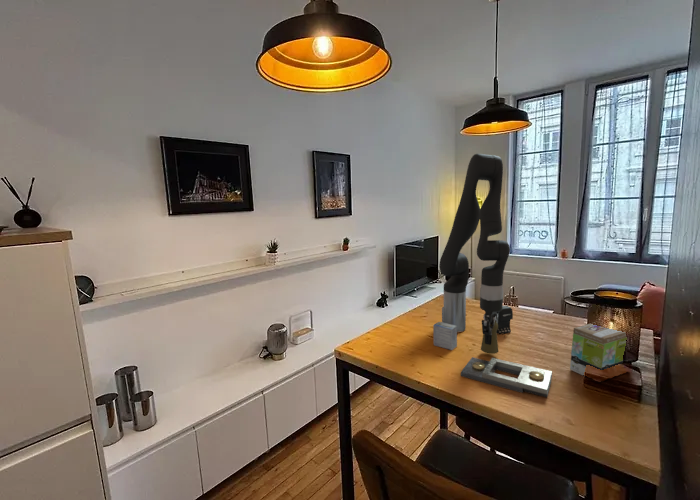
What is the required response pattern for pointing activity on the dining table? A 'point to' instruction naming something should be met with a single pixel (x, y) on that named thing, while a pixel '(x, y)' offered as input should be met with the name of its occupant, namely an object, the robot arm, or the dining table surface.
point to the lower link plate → (477, 368)
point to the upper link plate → (521, 377)
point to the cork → (494, 344)
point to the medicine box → (445, 335)
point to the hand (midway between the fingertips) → (489, 341)
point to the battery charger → (504, 320)
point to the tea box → (596, 347)
